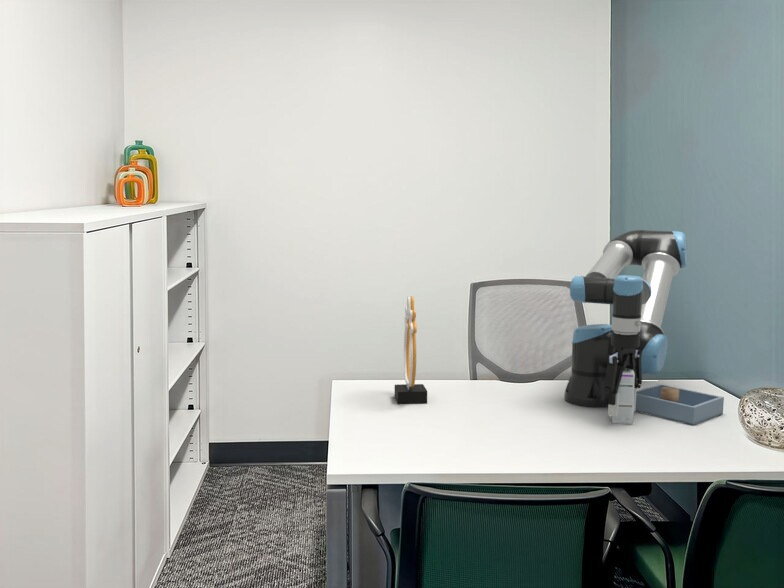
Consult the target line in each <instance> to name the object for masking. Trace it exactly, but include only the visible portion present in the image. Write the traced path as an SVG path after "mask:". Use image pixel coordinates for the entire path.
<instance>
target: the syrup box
mask: <svg viewBox="0 0 784 588" xmlns="http://www.w3.org/2000/svg"><path fill="white" fill-rule="evenodd" d="M634 380H635V373H634V371H633V370H631V369H628V368H626V369H625V370H624V371H623V373H622V377H621V381H620V385H619V388H618V392H617V393H619V410H618V417H614V416H610V420H611V423H613V424H620V425H621V424H623V425H624V424H625V425H633V423H634V415H635V414H634V412H635V411H634Z"/></svg>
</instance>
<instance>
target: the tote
mask: <svg viewBox="0 0 784 588" xmlns="http://www.w3.org/2000/svg"><path fill="white" fill-rule="evenodd" d="M661 387H674V388H677V389H679V403H676V402H672V401H667V400H663V399H660V392H661ZM724 402H725V396H719V395H716V394H715V395H714V394H710V393H705V392H701V391H696V390H692V389H686V388H682V387H679V386H678V387H676V386H671V385H667V384H663V383H658V384H655V385H651V386H649V387H645V388H640V389H637V391H636V409H635V411H634V412H637V413H640V414H641V413H642V414H646V415H649V416H654V417H657V418H662V419H666V420H670V421H674V422H677V423H682V424H685V425H691V426H696V425H698V424H701V423H703V422H706V421H708V420H711V419H714V418H716V417H719V416H721V415H723V414H724Z"/></svg>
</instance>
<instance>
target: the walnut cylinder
mask: <svg viewBox="0 0 784 588" xmlns="http://www.w3.org/2000/svg"><path fill="white" fill-rule="evenodd" d="M674 387H675V386H673V387H661V392H660V399H663V400H667V401H672V402H676V403H679V389H677V388H674Z"/></svg>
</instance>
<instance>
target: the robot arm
mask: <svg viewBox="0 0 784 588" xmlns="http://www.w3.org/2000/svg"><path fill="white" fill-rule="evenodd" d="M687 249H688V248H687V236H686V235H685V233H684V232H682V231H677V230H670V231H668V230H648V229H644V230H643V229H636V230H635V229H634V230H633V229H632V230H629V231H626V232H623V233H621V234H619V235H617V236H615V237H614V238H612V239H611V240H609V241H608V242H607V244H605V246H604V248H603V251H602V255H601V256H600V257H599V259H598V260H597V261H596V262H595V264H594V265H593V266H592V267H591V269H590V270H589V271H588V273H587V274H586V275H585V276H584V275H581V276H573V278H572V279H571V281H570V285H569V296H570V299H571V300H572V301H573V302H579V303H583V304H587V303H588V304H602V305H610V306H611V305H612V319H611V324H606V323H595V324H586V325H581V326H578V327H576V328H574V331H573V333H572V334H573V335H572V341H571V344H572V345H571V346H572V347H571V348H572V350H571V351H572V352H571V373H570V376H569V379H568V382H567V384H566V386H565V387H566V388H565V390H564V400H565V401H566V402H567V403H569V404H573V405H578V406H581V407H593V408H598V407H599V408H600V407H602V408H603V407H604V408H605V407H608V410H607V416H610V417H611V416H614V417H618V410H619V393H617V392H618V388H619V385H620V381H621V377H622V373H623V371H624V370H625V369H626V368H628V369H631V370H633V371H634V373H635V380H634V412H636V411H635V409H636V391H637V390H638V389H641V385H643V384H642V383H643V378H642V377H643V375H644V374H649V375H650V374H652V375H654V374H655V375H656V374H658V373H660V371H661V370H662V369H663V366H664V364H665V361H666V358H667V353H668V350H669V349H668V348H669V340H668V338H667V336H666V335H665V332H664V331H663V329H662V323H663V320H664V319H663V318H664V315H665V310H666V305H667V303H668V297H669V294H670V289H671V284H672V280H673V277H675V276H677V275H678V274H679V271H680V270H681V269H684V268H686V267H687V266H688V265H687V263H688V250H687ZM628 266H641V267H642V269H643V271H644V272H643V275H642V276H638V275H631V274H630V275H629V274H628V275H627V274H625V275H624V274H623V275H620V273H621V271H623V269H624V268H626V267H628ZM642 374H643V375H642Z"/></svg>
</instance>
